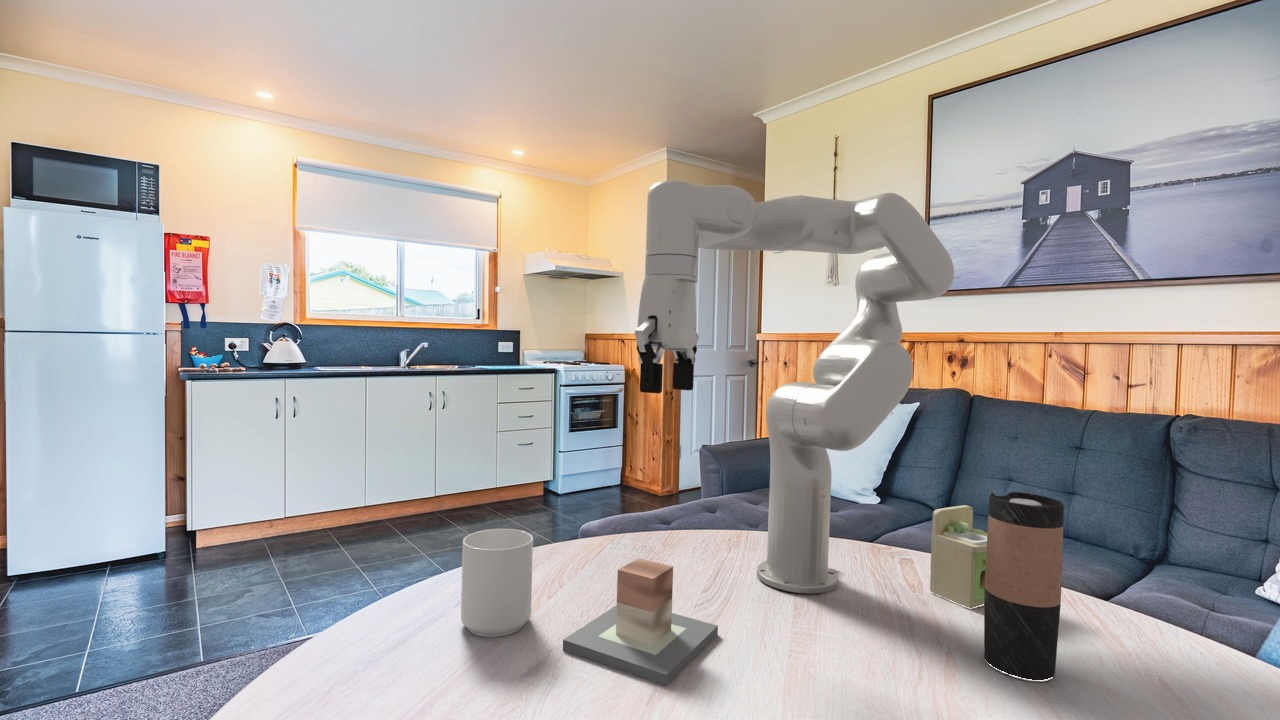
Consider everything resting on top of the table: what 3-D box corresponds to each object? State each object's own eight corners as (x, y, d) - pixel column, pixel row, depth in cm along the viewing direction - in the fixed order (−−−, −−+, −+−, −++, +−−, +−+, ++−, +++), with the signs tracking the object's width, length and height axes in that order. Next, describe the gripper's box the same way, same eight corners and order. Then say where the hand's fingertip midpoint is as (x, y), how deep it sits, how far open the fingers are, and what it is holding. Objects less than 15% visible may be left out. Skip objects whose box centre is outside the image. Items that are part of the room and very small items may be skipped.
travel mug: (1059, 691, 67) (1067, 510, 66) (979, 670, 71) (987, 499, 70) (1055, 662, 73) (1063, 497, 73) (983, 644, 77) (989, 488, 77)
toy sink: (973, 612, 87) (977, 521, 87) (928, 593, 94) (932, 508, 93) (1010, 603, 91) (1014, 516, 91) (965, 585, 97) (968, 504, 97)
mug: (520, 642, 74) (522, 551, 74) (449, 637, 75) (451, 547, 75) (543, 601, 86) (545, 523, 86) (482, 598, 87) (484, 520, 86)
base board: (624, 608, 85) (624, 599, 85) (717, 635, 78) (717, 625, 78) (562, 649, 73) (563, 639, 73) (666, 685, 65) (666, 674, 65)
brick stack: (637, 619, 78) (639, 558, 78) (671, 630, 76) (673, 566, 76) (615, 634, 74) (617, 569, 74) (651, 646, 72) (653, 578, 71)
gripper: (675, 279, 96) (672, 387, 96) (616, 264, 81) (612, 392, 81) (719, 277, 92) (715, 390, 92) (666, 261, 77) (661, 396, 78)
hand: (667, 391), depth 87 cm, fingers open, 9 cm apart
